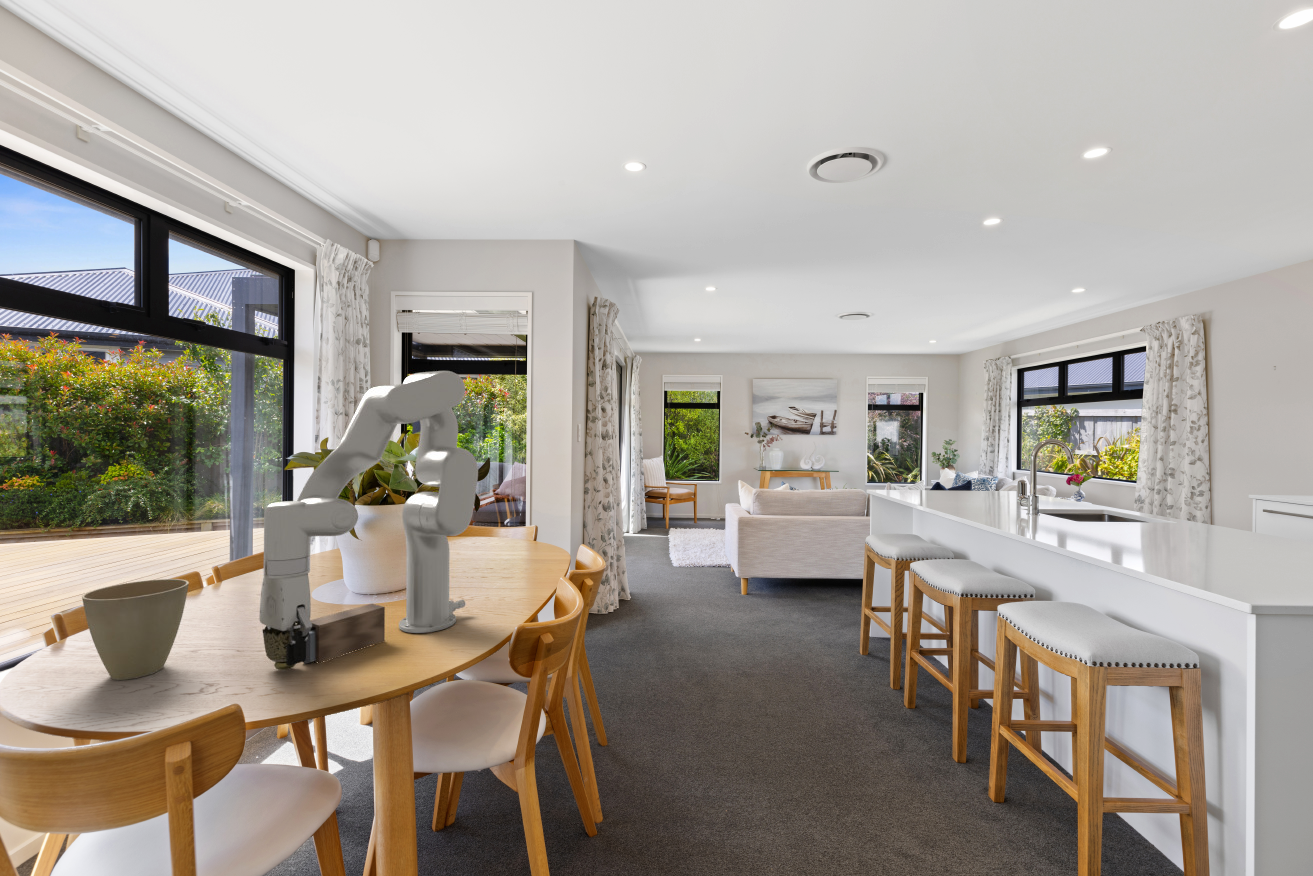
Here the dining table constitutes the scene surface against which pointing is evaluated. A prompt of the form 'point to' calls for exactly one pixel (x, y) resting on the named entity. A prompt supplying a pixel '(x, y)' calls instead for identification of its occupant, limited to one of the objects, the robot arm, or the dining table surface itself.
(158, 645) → the plant pot
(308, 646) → the gray rectangular panel
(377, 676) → the dining table surface
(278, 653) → the cup
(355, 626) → the dark brown rectangular beam
